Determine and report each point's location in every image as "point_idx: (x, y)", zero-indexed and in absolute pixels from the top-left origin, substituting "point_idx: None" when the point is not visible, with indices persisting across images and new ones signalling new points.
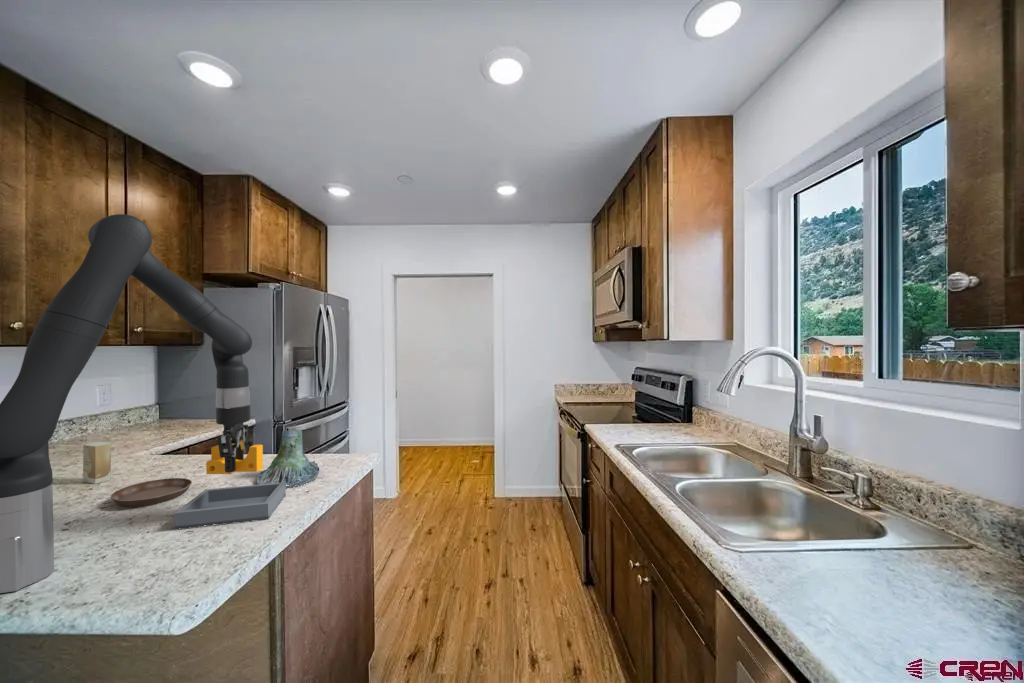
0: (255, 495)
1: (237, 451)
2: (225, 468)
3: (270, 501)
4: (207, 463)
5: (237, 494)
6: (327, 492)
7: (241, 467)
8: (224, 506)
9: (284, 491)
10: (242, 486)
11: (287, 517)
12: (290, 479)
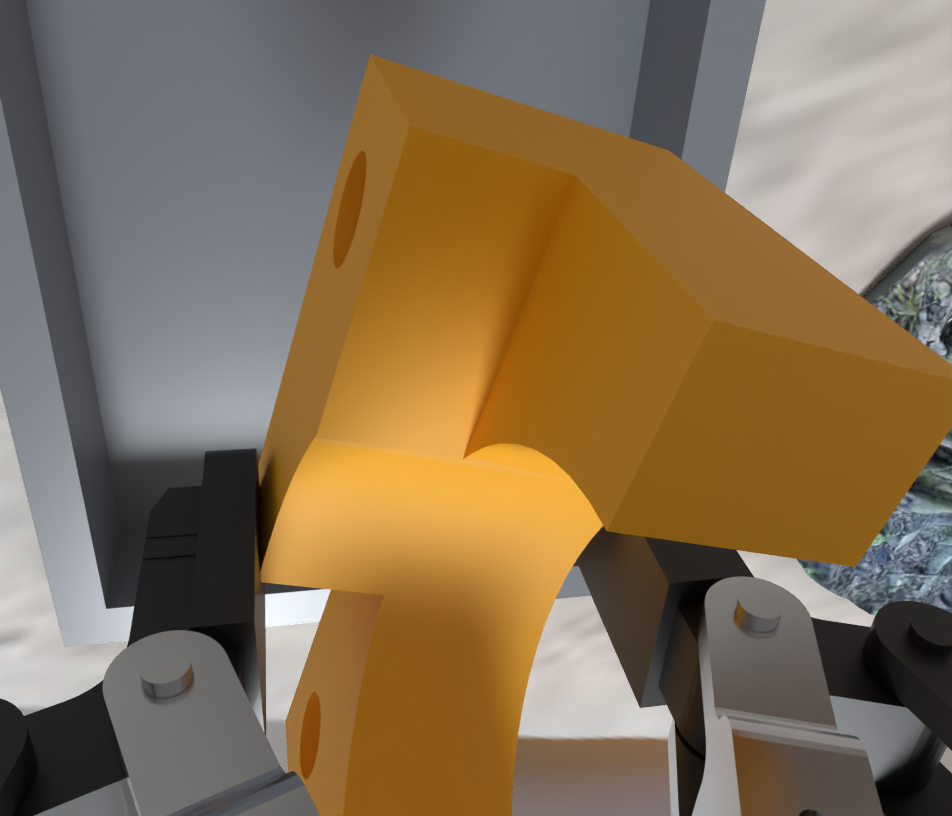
0: None
1: (672, 646)
2: (207, 486)
3: None
4: (393, 141)
5: None
6: (545, 731)
7: (349, 606)
8: (35, 298)
9: None
10: None
11: (108, 649)
12: (926, 472)
